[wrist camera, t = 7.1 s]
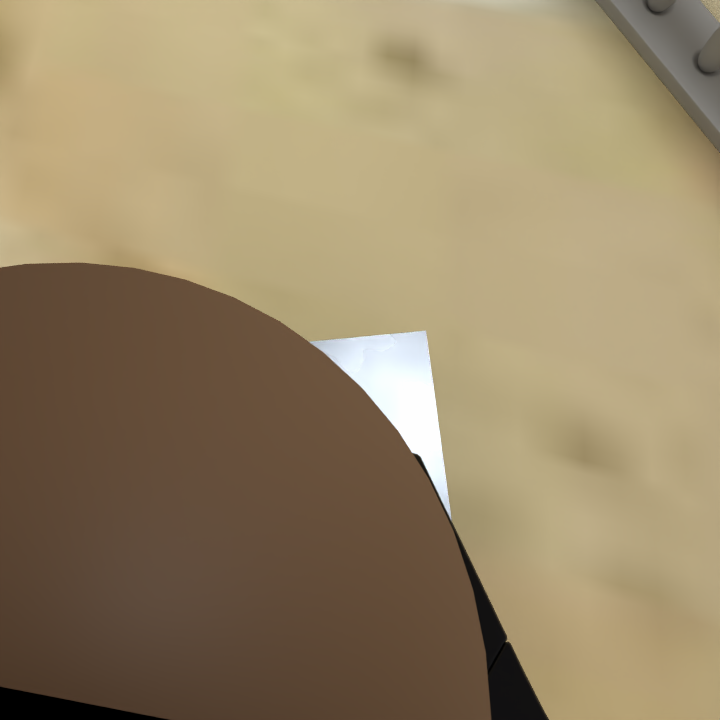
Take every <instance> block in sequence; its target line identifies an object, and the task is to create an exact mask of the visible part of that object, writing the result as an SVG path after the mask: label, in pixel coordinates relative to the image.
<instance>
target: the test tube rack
mask: <svg viewBox="0 0 720 720" xmlns="http://www.w3.org/2000/svg"><path fill="white" fill-rule="evenodd" d="M595 1H596V2H597V3H598V4H599V5H600V7H601V8H602V9H603V10H604V12H605V13H606V14H607V15H608V17H609V18H610V19H611V20H612V21H613V23H614V24H615V25H616V26H617V28H618V29H619V30H620V31H621V32H622V34H623V35H624V36H625V37H626V39H627V40H628V41H629V42H630V43H631V45H632V46H633V47H634V48H635V50H636V51H637V52H638V53H639V54H640V56H641V57H642V58H643V59H644V61H645V62H646V63H647V64H648V66H649V67H650V68H651V69H652V70H653V72H654V73H655V74H656V75H657V77H658V78H659V79H660V80H661V81H662V83H663V84H664V85H665V86H666V88H667V89H668V90H669V91H670V92H671V94H672V95H673V96H674V97H675V99H676V100H677V101H678V102H679V103H680V105H681V106H682V107H683V108H684V110H685V111H686V112H687V113H688V115H689V116H690V117H691V118H692V119H693V121H694V122H695V123H696V124H697V126H698V127H699V128H700V129H701V130H702V132H703V133H704V134H705V135H706V137H707V138H708V139H709V140H710V141H711V143H712V144H713V145H714V146H715V148H716V149H717V150H718V151H719V152H720V23H719V22H718V21H717V20H716V19H715V17H714V16H713V15H712V14H711V13H710V12H709V10H708V9H707V8H706V7H705V6H704V5H703V3H702V2H701V1H700V0H595Z"/></svg>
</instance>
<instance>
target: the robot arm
mask: <svg viewBox="0 0 720 720" xmlns="http://www.w3.org/2000/svg"><path fill="white" fill-rule="evenodd" d="M413 455H414V456H415V458H416V459H417V461H418V463H419V464H420V466H421V467H422V469H423V470H424V472H425V474H426V475H427V477H428V478H429V480H430V482H431V485H432V487H433V489H434V491H435V493H436V495H437V497H438V499H439V501H440V504H441V506H442V508H443V510H444V512H445V514H446V516H447V518H448V520H449V523H450V525H451V527H452V529H453V531H454V534H455V537H456V540H457V543H458V546H459V549H460V552H461V555H462V558H463V561H464V564H465V567H466V570H467V573H468V576H469V579H470V582H471V585H472V588H473V592H474V597H475V602H476V607H477V612H478V617H479V622H480V627H481V632H482V637H483V642H484V646H485V651H486V662H487V674H488V686H489V698H490V710H491V720H549V719H548V717H547V715H546V714H545V712H544V710H543V708H542V706H541V704H540V702H539V700H538V698H537V696H536V694H535V692H534V690H533V688H532V686H531V684H530V682H529V680H528V678H527V676H526V674H525V672H524V671H523V669H522V666H521V664H520V662H519V660H518V658H517V656H516V654H515V652H514V650H513V647H512V645H511V643H509V642H506V640H507V635H506V633H505V631H504V629H503V627H502V625H501V623H500V621H499V619H498V617H497V615H496V612H495V610H494V608H493V606H492V604H491V602H490V600H489V598H488V596H487V594H486V592H485V590H484V587H483V585H482V583H481V581H480V579H479V577H478V575H477V573H476V571H475V569H474V567H473V565H472V562H471V560H470V558H469V556H468V554H467V552H466V550H465V548H464V546H463V544H462V542H461V540H460V537H459V535H458V533H457V531H456V529H455V527H454V525H453V523H452V521H451V519H450V517H449V515H448V512H447V510H446V508H445V506H444V504H443V502H442V500H441V498H440V496H439V494H438V492H437V490H436V487H435V485H434V483H433V481H432V479H431V477H430V475H429V473H428V471H427V469H426V467H425V465H424V462H423V460H422V458H421V457H420V456H419V455H418V454H416V453H413ZM505 642H506V643H505Z"/></svg>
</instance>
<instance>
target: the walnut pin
mask: <svg viewBox="0 0 720 720" xmlns="http://www.w3.org/2000/svg"><path fill="white" fill-rule="evenodd" d="M0 720H491V710H490V698H489V686H488V674H487V662H486V651H485V646H484V642H483V637H482V632H481V627H480V622H479V617H478V612H477V607H476V602H475V597H474V592H473V588H472V585H471V582H470V579H469V576H468V573H467V570H466V567H465V564H464V561H463V558H462V555H461V552H460V549H459V546H458V543H457V540H456V537H455V534H454V531H453V529H452V527H451V525H450V523H449V520H448V518H447V516H446V514H445V512H444V510H443V508H442V506H441V504H440V501H439V499H438V497H437V495H436V493H435V491H434V489H433V487H432V485H431V482H430V480H429V478H428V477H427V475H426V474H425V472H424V470H423V469H422V467H421V466H420V464H419V463H418V461H417V459H416V458H415V456H414V455H413V453H412V452H411V450H410V449H409V447H408V445H407V444H406V442H405V441H404V439H403V438H402V436H401V434H400V433H399V431H398V430H397V429H396V428H395V426H394V425H393V424H392V423H391V422H390V420H389V419H388V418H387V417H386V416H385V414H384V413H383V412H382V411H381V410H380V408H379V407H378V406H377V405H376V404H375V402H374V401H373V400H372V399H371V398H370V396H369V395H368V394H367V393H366V392H365V390H364V389H363V388H362V387H361V386H360V385H359V384H357V383H356V382H355V381H354V380H353V379H352V378H351V377H350V376H349V375H348V374H347V373H345V372H344V371H343V370H342V369H341V368H340V367H339V366H338V365H337V364H336V363H335V362H334V361H332V360H331V359H330V358H329V357H328V356H327V355H326V354H325V353H324V352H322V351H321V350H320V349H318V348H317V347H315V346H314V345H313V344H311V343H310V342H308V341H307V340H305V339H304V338H303V337H301V336H300V335H298V334H297V333H295V332H294V331H293V330H291V329H290V328H288V327H287V326H286V325H284V324H283V323H281V322H280V321H278V320H276V319H274V318H272V317H270V316H268V315H266V314H264V313H262V312H261V311H259V310H257V309H255V308H253V307H251V306H249V305H247V304H245V303H243V302H241V301H240V300H238V299H236V298H234V297H231V296H228V295H226V294H223V293H220V292H217V291H215V290H212V289H209V288H206V287H204V286H201V285H198V284H196V283H193V282H190V281H187V280H184V279H180V278H176V277H171V276H167V275H163V274H158V273H154V272H149V271H145V270H141V269H136V268H129V267H119V266H109V265H99V264H89V263H47V264H23V265H16V266H9V267H2V268H0Z"/></svg>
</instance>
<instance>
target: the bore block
mask: <svg viewBox="0 0 720 720" xmlns="http://www.w3.org/2000/svg"><path fill="white" fill-rule="evenodd" d="M310 343H311V344H313V345H314V346H315V347H317V348H318V349H320V350H321V351H322V352H324V353H325V354H326V355H327V356H328V357H329V358H330V359H331V360H332V361H334V362H335V363H336V364H337V365H338V366H339V367H340V368H341V369H342V370H343V371H344V372H345V373H347V374H348V375H349V376H350V377H351V378H352V379H353V380H354V381H355V382H356V383H357V384H359V385H360V386H361V387H362V388H363V389H364V390H365V392H366V393H367V394H368V395H369V396H370V398H371V399H372V400H373V401H374V402H375V404H376V405H377V406H378V407H379V408H380V410H381V411H382V412H383V413H384V414H385V416H386V417H387V418H388V419H389V420H390V422H391V423H392V424H393V425H394V426H395V428H396V429H397V430H398V431H399V433H400V434H401V436H402V438H403V439H404V441H405V442H406V444H407V445H408V447H409V449H410V450H411V452H412V453H416V454H418V455H419V456H420V457H421V458H422V460H423V462H424V465H425V467H426V469H427V471H428V473H429V475H430V477H431V479H432V481H433V483H434V485H435V487H436V490H437V492H438V494H439V496H440V498H441V500H442V502H443V504H444V506H445V508H446V510H447V512H448V515H449V517H450V519H451V513H450V505H449V498H448V491H447V483H446V476H445V468H444V461H443V454H442V446H441V439H440V431H439V424H438V417H437V409H436V402H435V394H434V387H433V380H432V372H431V365H430V357H429V350H428V343H427V335H426V331H418V332H407V333H397V334H386V335H376V336H365V337H355V338H344V339H333V340H323V341H312V342H310ZM451 521H452V520H451Z"/></svg>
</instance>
